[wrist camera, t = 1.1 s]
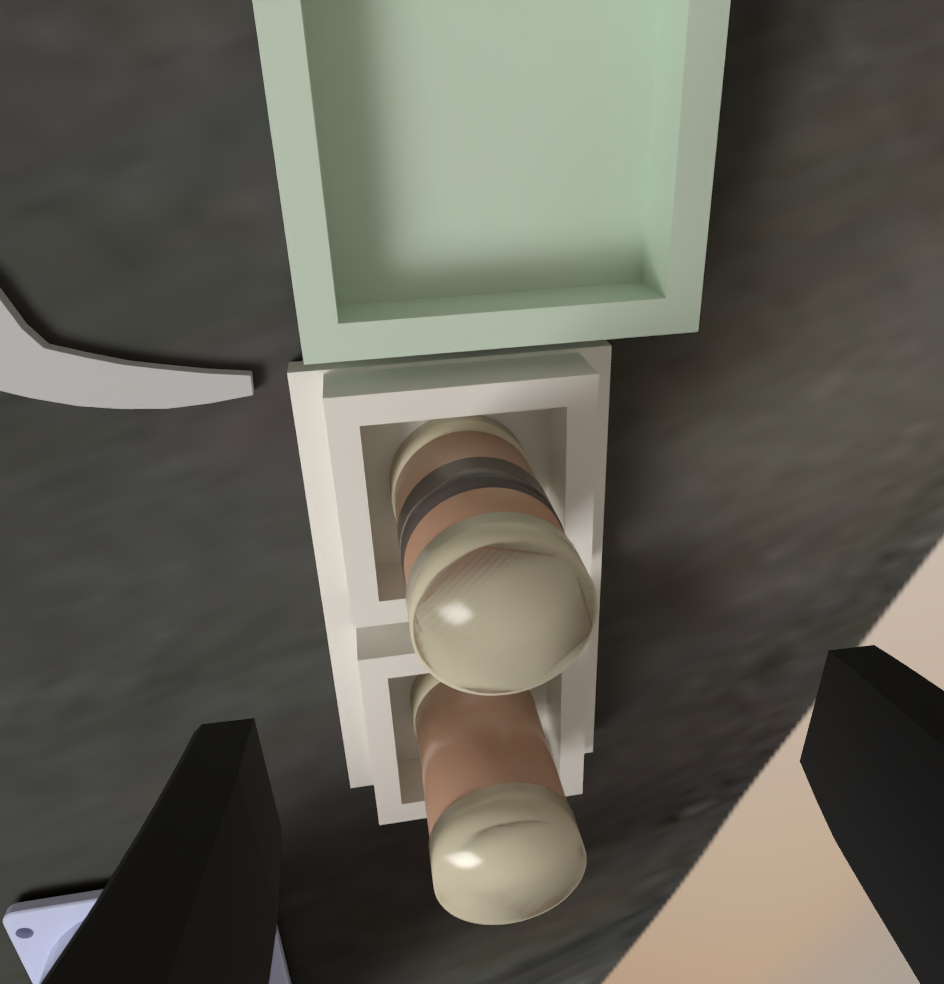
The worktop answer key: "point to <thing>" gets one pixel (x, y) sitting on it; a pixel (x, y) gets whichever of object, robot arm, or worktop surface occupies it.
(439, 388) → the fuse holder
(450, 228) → the tray
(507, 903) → the fuse
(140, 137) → the worktop surface
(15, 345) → the pliers
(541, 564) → the cylinder
